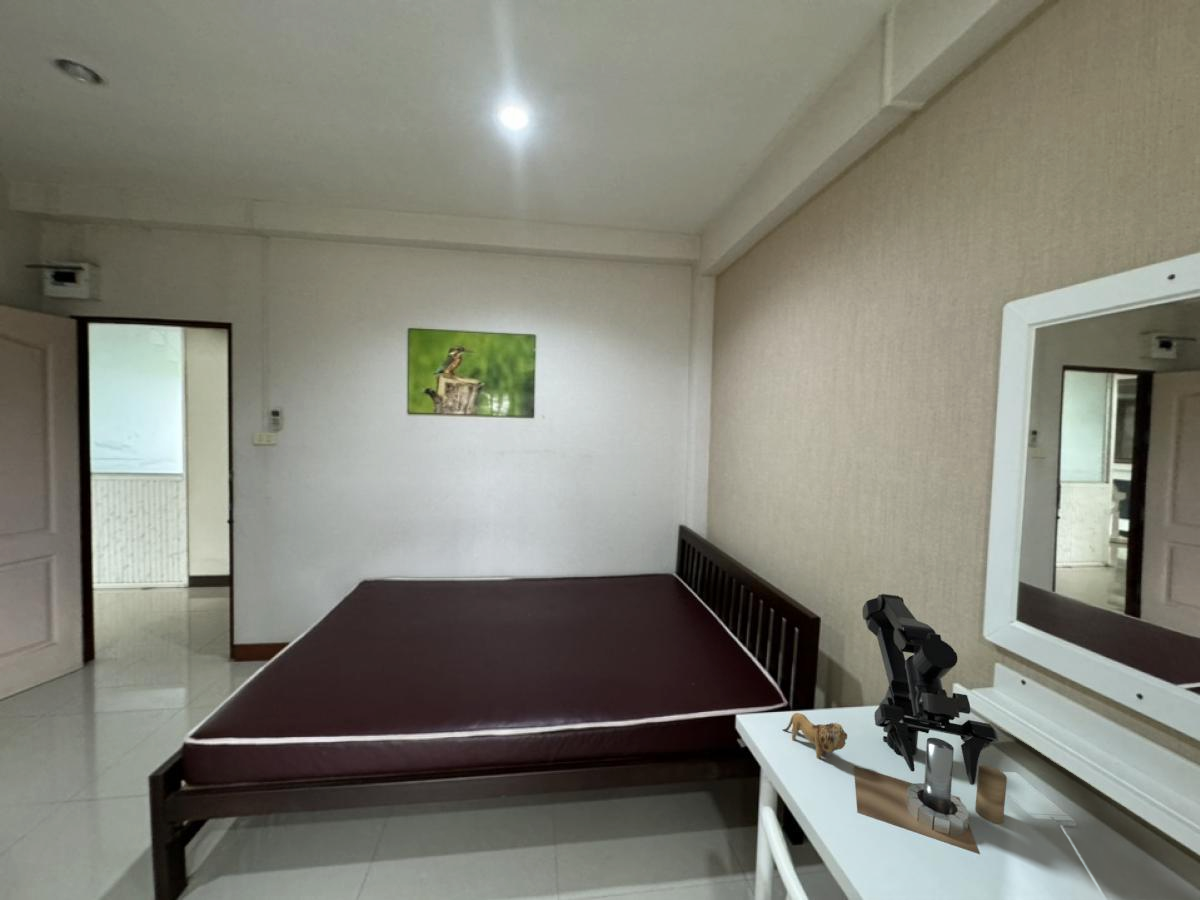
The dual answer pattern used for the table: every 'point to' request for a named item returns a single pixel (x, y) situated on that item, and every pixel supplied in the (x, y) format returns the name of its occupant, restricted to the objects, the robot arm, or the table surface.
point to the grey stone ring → (934, 820)
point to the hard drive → (1034, 800)
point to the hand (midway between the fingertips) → (942, 777)
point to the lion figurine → (818, 734)
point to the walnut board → (898, 806)
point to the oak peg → (991, 794)
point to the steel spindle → (938, 775)
